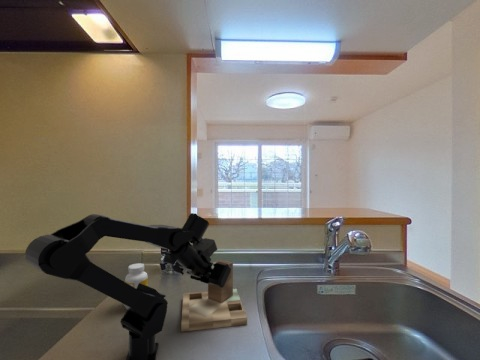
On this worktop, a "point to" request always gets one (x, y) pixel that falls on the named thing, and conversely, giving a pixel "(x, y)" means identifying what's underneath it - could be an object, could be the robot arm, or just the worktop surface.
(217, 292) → the walnut box
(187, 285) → the worktop surface
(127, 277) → the supplement bottle
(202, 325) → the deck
